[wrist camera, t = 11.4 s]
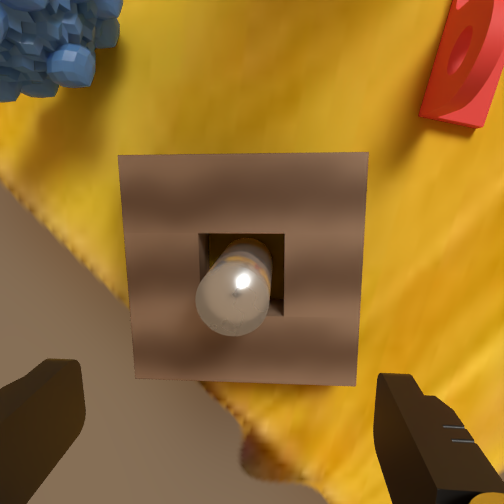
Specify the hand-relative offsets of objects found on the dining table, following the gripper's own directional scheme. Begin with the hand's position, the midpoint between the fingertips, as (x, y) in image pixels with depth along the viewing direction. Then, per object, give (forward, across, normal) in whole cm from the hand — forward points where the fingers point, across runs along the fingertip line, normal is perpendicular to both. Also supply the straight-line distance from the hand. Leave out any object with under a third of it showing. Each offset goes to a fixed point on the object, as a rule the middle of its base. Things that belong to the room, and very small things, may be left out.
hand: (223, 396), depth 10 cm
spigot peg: (+22, +2, +2) cm, 23 cm away
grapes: (+23, +14, -14) cm, 30 cm away
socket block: (+22, +2, +2) cm, 23 cm away
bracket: (+23, -15, -15) cm, 32 cm away
